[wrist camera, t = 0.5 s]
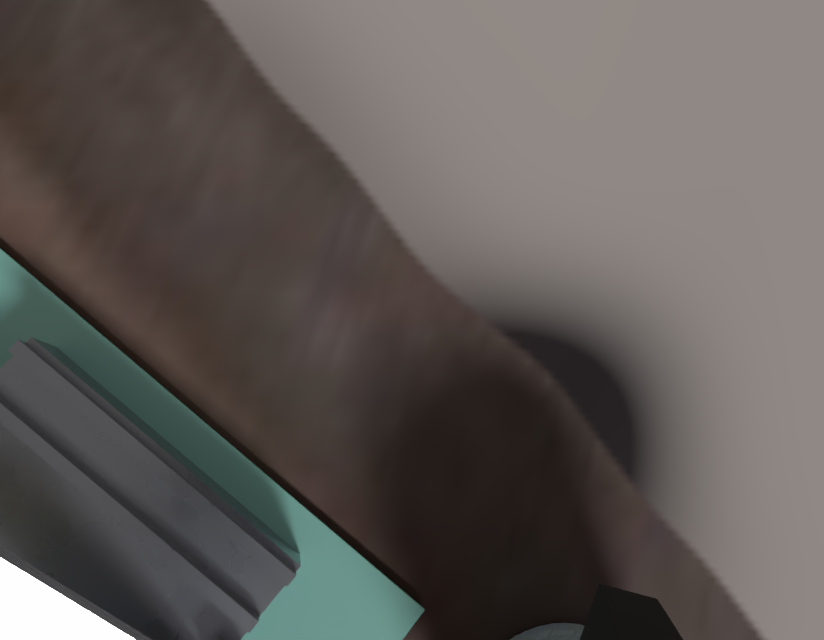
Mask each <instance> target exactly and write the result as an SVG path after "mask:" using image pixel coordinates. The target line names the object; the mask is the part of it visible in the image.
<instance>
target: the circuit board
mask: <svg viewBox="0 0 824 640" xmlns="http://www.w3.org/2000/svg"><path fill="white" fill-rule="evenodd" d="M31 337H32V338H35V339H37V340H40V341H43V342H45V343H48V344H50V345H53V346H56V347H57V348H58V349H59V350H61V351H62V352H63V353H64V354H65V355H67V356H68V357H69V358H70V359H71V360H72V361H74V362H75V363H76V364H77V365H78V366H79V367H81V368H82V369H83V370H84V371H85V372H87V373H88V374H89V375H90V376H91V377H92V378H94V379H95V380H96V381H97V382H98V383H100V384H101V385H102V386H103V387H104V388H105V389H107V390H108V391H109V392H110V393H111V394H112V395H114V396H115V397H116V398H117V399H118V400H120V401H121V402H122V403H123V404H124V405H125V406H127V407H128V408H129V409H130V410H131V411H133V412H134V413H135V414H136V415H137V416H138V417H140V418H141V419H142V420H143V421H144V422H145V423H147V424H148V425H149V426H150V427H151V428H153V429H154V430H155V431H156V432H157V433H158V434H160V435H161V436H162V437H163V438H164V439H165V440H167V441H168V442H169V443H170V444H171V445H173V446H174V447H175V448H176V449H177V450H178V451H180V452H181V453H182V454H183V455H184V456H186V457H187V458H188V459H189V460H190V461H191V462H193V463H194V464H195V465H196V466H197V467H198V468H200V469H201V470H202V471H203V472H204V473H206V474H207V475H208V476H209V477H210V478H211V479H213V480H214V481H215V482H216V483H217V484H218V485H220V486H221V487H222V488H223V489H224V490H226V491H227V492H228V493H229V494H230V495H231V496H233V497H234V498H235V499H236V500H237V501H239V502H240V503H241V504H242V505H243V506H244V507H246V508H247V509H248V510H249V511H250V512H251V513H253V514H254V515H255V516H256V517H257V518H259V519H260V520H261V521H262V522H263V523H264V524H266V525H267V526H268V527H269V528H270V529H271V530H273V531H274V532H275V533H276V534H277V535H279V536H280V537H281V538H282V539H283V540H284V541H286V542H287V543H288V544H289V545H290V546H292V547H293V548H294V549H295V550H296V551H297V552H299V553H300V561H301V566H300V568H299V569H298V570H297V571H296V577H295V578H294V579H293V580H292V581H291V583H290V584H289V585H288V586H286V585H285V586H284V587H283V588H282V590H281V591H280V592H279V593H278V595H277V596H276V597H275V598H274V599H273V601H272V602H271V603H270V604H269V606H268V607H267V608H266V609H265V610H264V612H263V613H262V614H261V615H260V617H259V622H258V623H257V624H256V626H255V627H254V628H253V629H252V630H251V632H250V633H248V632H246V634H245V635H244V636H243V637H242V639H241V640H402V639H403V638H404V637H405V636H406V634H407V633H408V632H409V630H410V629H411V628H412V626H413V625H414V624H415V622H416V621H417V620H418V618H419V617H420V616H421V615H422V613H423V612H424V611H425V609H424V608H423V607H422V606H421V605H420V604H419V603H417V602H416V601H415V600H414V599H413V598H411V597H410V596H409V595H408V594H407V593H406V592H404V591H403V590H402V589H401V588H400V587H399V586H397V585H396V584H395V583H394V582H393V581H392V580H390V579H389V578H388V577H387V576H386V575H384V574H383V573H382V572H381V571H380V570H379V569H377V568H376V567H375V566H374V565H373V564H372V563H370V562H369V561H368V560H367V559H366V558H364V557H363V556H362V555H361V554H360V553H359V552H357V551H356V550H355V549H354V548H353V547H352V546H350V545H349V544H348V543H347V542H346V541H344V540H343V539H342V538H341V537H340V536H339V535H337V534H336V533H335V532H334V531H333V530H332V529H330V528H329V527H328V526H327V525H326V524H325V523H323V522H322V521H321V520H320V519H319V518H317V517H316V516H315V515H314V514H313V513H312V512H310V511H309V510H308V509H307V508H306V507H305V506H303V505H302V504H301V503H300V502H299V501H297V500H296V499H295V498H294V497H293V496H292V495H290V494H289V493H288V492H287V491H286V490H285V489H283V488H282V487H281V486H280V485H279V484H278V483H276V482H275V481H274V480H273V479H272V478H270V477H269V476H268V475H267V474H266V473H265V472H263V471H262V470H261V469H260V468H259V467H258V466H256V465H255V464H254V463H253V462H252V461H250V460H249V459H248V458H247V457H246V456H245V455H243V454H242V453H241V452H240V451H239V450H238V449H236V448H235V447H234V446H233V445H232V444H230V443H229V442H228V441H227V440H226V439H225V438H223V437H222V436H221V435H220V434H219V433H218V432H216V431H215V430H214V429H213V428H212V427H211V426H209V425H208V424H207V423H206V422H205V421H203V420H202V419H201V418H200V417H199V416H198V415H196V414H195V413H194V412H193V411H192V410H191V409H189V408H188V407H187V406H186V405H185V404H183V403H182V402H181V401H180V400H179V399H178V398H176V397H175V396H174V395H173V394H172V393H171V392H169V391H168V390H167V389H166V388H165V387H163V386H162V385H161V384H160V383H159V382H158V381H156V380H155V379H154V378H153V377H152V376H151V375H149V374H148V373H147V372H146V371H145V370H144V369H142V368H141V367H140V366H139V365H138V364H136V363H135V362H134V361H133V360H132V359H131V358H129V357H128V356H127V355H126V354H125V353H124V352H122V351H121V350H120V349H119V348H118V347H116V346H115V345H114V344H113V343H112V342H111V341H109V340H108V339H107V338H106V337H105V336H104V335H102V334H101V333H100V332H99V331H98V330H96V329H95V328H94V327H93V326H92V325H91V324H89V323H88V322H87V321H86V320H85V319H84V318H82V317H81V316H80V315H79V314H78V313H77V312H75V311H74V310H73V309H72V308H71V307H69V306H68V305H67V304H66V303H65V302H64V301H62V300H61V299H60V298H59V297H58V296H57V295H55V294H54V293H53V292H52V291H51V290H49V289H48V288H47V287H46V286H45V285H44V284H42V283H41V282H40V281H39V280H38V279H37V278H35V277H34V276H33V275H32V274H31V273H29V272H28V271H27V270H26V269H25V268H24V267H22V266H21V265H20V264H19V263H18V262H17V261H15V260H14V259H13V258H12V257H11V256H10V255H8V254H7V253H6V252H5V251H4V250H2V249H1V248H0V368H1V367H2V366H3V365H4V364H5V363H6V362H7V361H8V360H9V359H10V358H11V357H12V356H13V354H12V353H11V352H9V351H8V349H9V348H10V347H11V346H12V345H13V344H14V343H15V342H16V341H17V340H21V341H24V342H27V341H28V340H29V339H30V338H31Z"/></svg>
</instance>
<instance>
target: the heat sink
mask: <svg viewBox="0 0 824 640" xmlns="http://www.w3.org/2000/svg"><path fill="white" fill-rule="evenodd" d="M8 351H9V352H11V353H12V354H13V356H12V357H11V358H10V359H9V360H8V361H7V362H6V363H5V364H4V365H3V366H2V367H1V368H0V547H2V548H4V549H5V550H7V551H9V552H10V553H12V554H14V555H15V556H17V557H18V558H20V559H22V560H23V561H25V562H27V563H28V564H30V565H31V566H33V567H35V568H36V569H38V570H40V571H41V572H43V573H44V574H46V575H48V576H49V577H51V578H53V579H54V580H56V581H58V582H59V583H61V584H62V585H64V586H66V587H67V588H69V589H71V590H72V591H74V592H75V593H77V594H79V595H80V596H82V597H84V598H85V599H87V600H88V601H90V602H92V603H93V604H95V605H97V606H98V607H100V608H102V609H103V610H105V611H106V612H108V613H110V614H111V615H113V616H115V617H116V618H118V619H119V620H121V621H123V622H124V623H126V624H128V625H129V626H131V627H133V628H134V629H136V630H137V631H139V632H141V633H142V634H144V635H146V636H147V637H149V638H150V639H152V640H241V639H242V637H243V636H244V635H245V634H246V632H248V633H250V632H251V630H252V629H253V628H254V627H255V626H256V624H257V623H258V622H259V617H260V615H261V614H262V613H263V612H264V610H265V609H266V608H267V607H268V606H269V604H270V603H271V602H272V601H273V599H274V598H275V597H276V596H277V595H278V593H279V592H280V591H281V590H282V588H283V587H284V586H285V585H286V586H288V585H289V584H290V583H291V581H292V580H293V579H294V578H295V577H296V571H297V570H298V569H299V568H300V566H301V561H300V553H299V552H297V551H296V550H295V549H294V548H293V547H292V546H290V545H289V544H288V543H287V542H286V541H284V540H283V539H282V538H281V537H280V536H279V535H277V534H276V533H275V532H274V531H273V530H271V529H270V528H269V527H268V526H267V525H266V524H264V523H263V522H262V521H261V520H260V519H259V518H257V517H256V516H255V515H254V514H253V513H251V512H250V511H249V510H248V509H247V508H246V507H244V506H243V505H242V504H241V503H240V502H239V501H237V500H236V499H235V498H234V497H233V496H231V495H230V494H229V493H228V492H227V491H226V490H224V489H223V488H222V487H221V486H220V485H218V484H217V483H216V482H215V481H214V480H213V479H211V478H210V477H209V476H208V475H207V474H206V473H204V472H203V471H202V470H201V469H200V468H198V467H197V466H196V465H195V464H194V463H193V462H191V461H190V460H189V459H188V458H187V457H186V456H184V455H183V454H182V453H181V452H180V451H178V450H177V449H176V448H175V447H174V446H173V445H171V444H170V443H169V442H168V441H167V440H165V439H164V438H163V437H162V436H161V435H160V434H158V433H157V432H156V431H155V430H154V429H153V428H151V427H150V426H149V425H148V424H147V423H145V422H144V421H143V420H142V419H141V418H140V417H138V416H137V415H136V414H135V413H134V412H133V411H131V410H130V409H129V408H128V407H127V406H125V405H124V404H123V403H122V402H121V401H120V400H118V399H117V398H116V397H115V396H114V395H112V394H111V393H110V392H109V391H108V390H107V389H105V388H104V387H103V386H102V385H101V384H100V383H98V382H97V381H96V380H95V379H94V378H92V377H91V376H90V375H89V374H88V373H87V372H85V371H84V370H83V369H82V368H81V367H79V366H78V365H77V364H76V363H75V362H74V361H72V360H71V359H70V358H69V357H68V356H67V355H65V354H64V353H63V352H62V351H61V350H59V349H58V348H57V347H56V346H53V345H50V344H48V343H45V342H43V341H40V340H37V339H35V338H32V337H31V338H30V339H29V340H28V341H27V342H24V341H21V340H17V341H16V342H15V343H14V344H13V345H12V346H11V347H10V348H9V349H8Z"/></svg>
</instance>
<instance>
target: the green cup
mask: <svg viewBox="0 0 824 640" xmlns="http://www.w3.org/2000/svg"><path fill="white" fill-rule="evenodd" d="M583 629H584V625H580V624H573V623H552V624H547V625H542V626H538V627H535V628H532V629H530V630H527V631H524V632H523V633H521V634H519V635H516V636H514V637H513V638H511V639H509V640H580V637H581V634H582V632H583Z"/></svg>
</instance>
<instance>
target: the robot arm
mask: <svg viewBox="0 0 824 640" xmlns="http://www.w3.org/2000/svg"><path fill="white" fill-rule="evenodd" d="M580 640H683V639H682V637H681V636H680V634H679V633H678V631H677V629H676V628H675V626H674V625H673V623H672V621H671V620H670V618H669V617H668V615H667V614H666V612H665V610H664V609H663V607H662V606H661V604H660V603H659V601H658V600H657V599H655V598H652V597H648V596H644V595H640V594H636V593H633V592H629V591H625V590H621V589H617V588H614V587H610V586H606V585H602V584H600V585H599V588H598V591H597V593H596V596H595V599H594V602H593V604H592V607H591V610H590V613H589V615H588V618H587V621H586V623H585V626H584V629H583V632H582V634H581V637H580Z"/></svg>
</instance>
